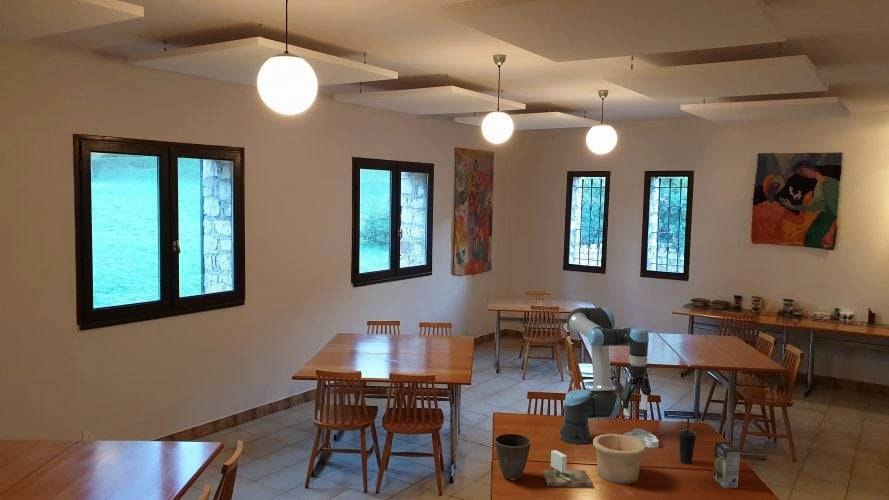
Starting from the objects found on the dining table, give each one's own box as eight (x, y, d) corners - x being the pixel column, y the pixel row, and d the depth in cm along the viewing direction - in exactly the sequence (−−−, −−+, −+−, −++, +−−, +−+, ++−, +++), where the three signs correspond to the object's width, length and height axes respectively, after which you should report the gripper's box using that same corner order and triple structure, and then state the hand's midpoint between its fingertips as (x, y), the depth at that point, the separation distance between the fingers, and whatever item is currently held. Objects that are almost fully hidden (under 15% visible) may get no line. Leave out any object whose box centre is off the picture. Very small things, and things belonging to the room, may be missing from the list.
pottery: (587, 464, 289) (588, 432, 288) (637, 466, 288) (638, 434, 287) (597, 485, 267) (598, 451, 266) (650, 487, 266) (652, 453, 265)
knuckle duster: (619, 436, 325) (646, 434, 328) (637, 449, 308) (665, 447, 311) (620, 429, 325) (646, 427, 328) (638, 443, 307) (666, 441, 311)
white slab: (567, 481, 264) (568, 460, 264) (550, 471, 273) (551, 451, 273) (571, 480, 266) (572, 459, 265) (554, 470, 275) (555, 450, 274)
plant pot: (506, 487, 263) (507, 449, 262) (487, 473, 276) (488, 436, 275) (536, 480, 270) (537, 443, 269) (516, 467, 283) (517, 431, 282)
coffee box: (712, 478, 277) (714, 441, 276) (727, 478, 277) (729, 441, 276) (723, 488, 268) (725, 450, 266) (738, 487, 268) (740, 449, 267)
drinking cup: (696, 466, 289) (698, 422, 287) (678, 464, 291) (680, 421, 289) (693, 459, 297) (695, 417, 295) (675, 457, 298) (678, 415, 296)
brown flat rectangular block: (547, 486, 265) (547, 481, 265) (542, 474, 277) (542, 469, 277) (591, 487, 265) (591, 482, 265) (584, 475, 277) (584, 470, 277)
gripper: (629, 371, 270) (627, 420, 271) (660, 361, 286) (658, 408, 288) (613, 367, 275) (611, 415, 277) (645, 358, 292) (643, 404, 294)
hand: (635, 412), depth 282 cm, fingers open, 13 cm apart
